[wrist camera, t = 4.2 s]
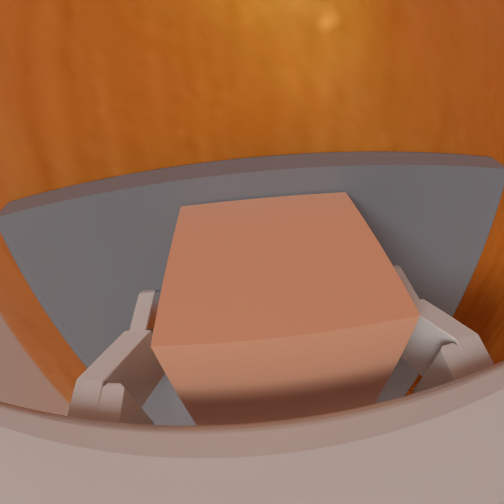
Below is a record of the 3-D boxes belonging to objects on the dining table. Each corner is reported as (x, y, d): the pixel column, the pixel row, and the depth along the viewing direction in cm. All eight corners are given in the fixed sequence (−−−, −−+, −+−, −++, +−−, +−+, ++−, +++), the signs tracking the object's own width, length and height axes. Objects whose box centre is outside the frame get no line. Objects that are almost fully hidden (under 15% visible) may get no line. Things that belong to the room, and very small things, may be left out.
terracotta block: (345, 192, 9) (420, 314, 5) (331, 304, 12) (365, 417, 8) (180, 206, 9) (150, 346, 5) (207, 317, 12) (204, 437, 8)
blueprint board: (490, 156, 10) (508, 169, 9) (392, 395, 22) (396, 407, 21) (9, 202, 10) (-7, 218, 9) (149, 421, 22) (148, 434, 21)
